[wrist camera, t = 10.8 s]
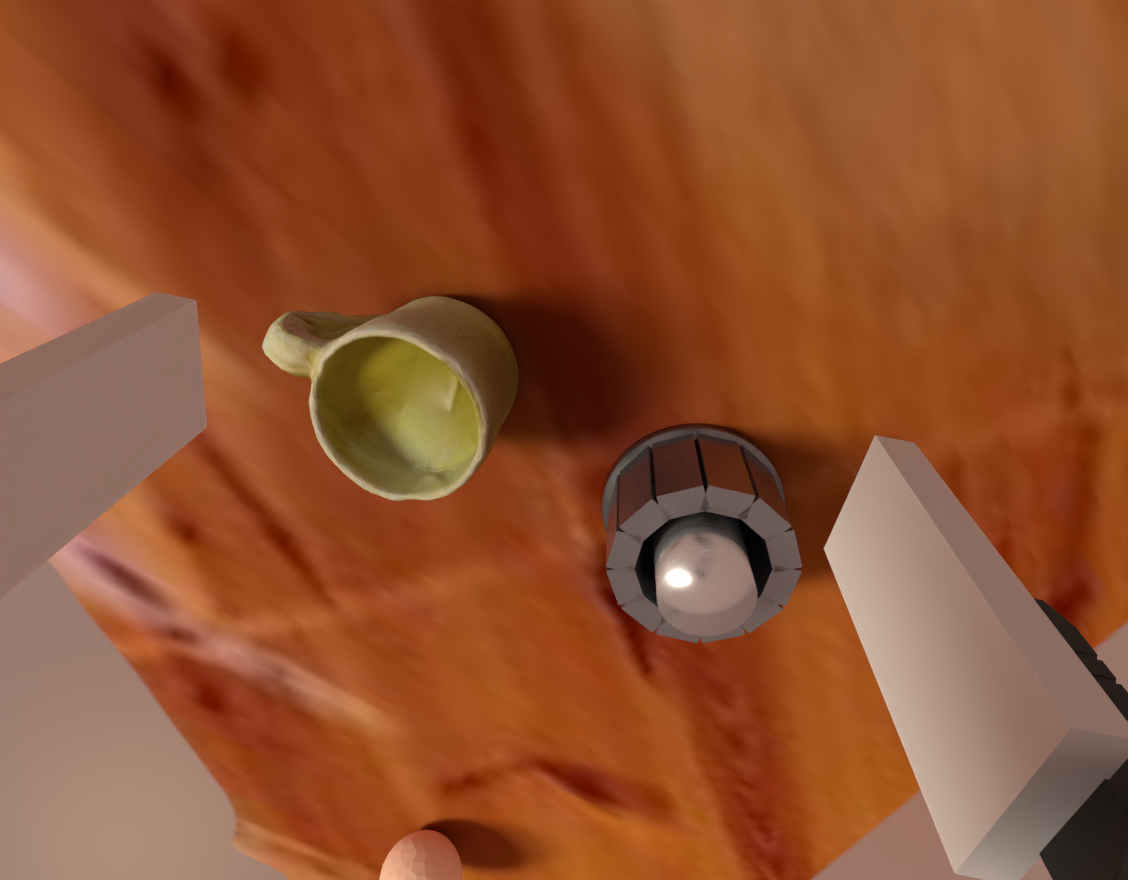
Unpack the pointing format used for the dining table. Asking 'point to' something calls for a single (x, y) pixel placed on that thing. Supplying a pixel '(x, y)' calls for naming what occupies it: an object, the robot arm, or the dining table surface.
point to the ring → (687, 486)
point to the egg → (422, 858)
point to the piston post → (699, 551)
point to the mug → (402, 391)
